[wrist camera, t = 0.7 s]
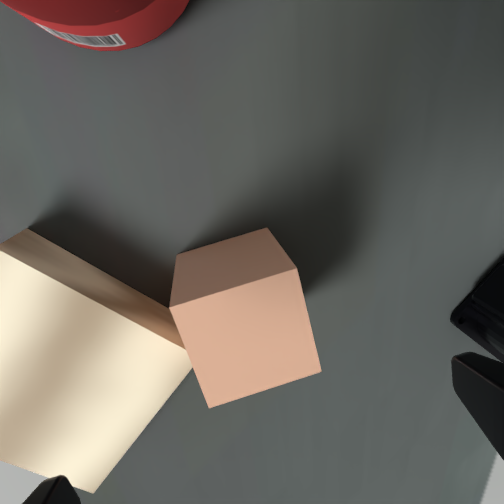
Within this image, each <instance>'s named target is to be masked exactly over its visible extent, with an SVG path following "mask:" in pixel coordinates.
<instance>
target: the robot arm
mask: <svg viewBox="0 0 504 504" xmlns="http://www.w3.org/2000/svg"><path fill="white" fill-rule="evenodd" d="M459 318H460V320H459ZM450 321H451V323H452V324H453V325H455V326H456V327H457V328H459V329H460V330H461V331H462V332H464V333H465V334H466V335H468V336H469V337H470V338H472V339H473V340H474V341H475V342H477V343H478V344H479V345H481V346H482V347H483V348H484V349H486V350H487V351H488V352H490V353H491V354H492V355H494V356H495V357H496V358H497V359H499V360H500V361H501V362H499V361H496V360H493V359H491V358H488V357H485V356H482V355H479V354H476V353H473V352H465V353H462V354H459V355H455V356H454V357H453V358H452V360H451V364H452V380H453V387H454V390H455V392H456V394H457V395H458V397H459V398H460V400H461V401H462V403H463V404H464V405H465V407H466V408H467V410H468V411H469V413H470V414H471V415H472V417H473V418H474V420H475V421H476V422H477V424H478V425H479V427H480V428H481V430H482V431H483V432H484V434H485V435H486V437H487V438H488V440H489V441H490V442H491V444H492V445H493V447H494V448H495V449H496V451H497V452H498V453H499V455H500V456H501V457H502V459H503V460H504V259H503V260H502V261H501V262H500V263H499V264H498V265H497V266H496V267H495V268H494V270H493V271H492V272H491V273H490V274H489V275H488V276H487V277H486V278H485V279H484V280H483V281H482V282H481V284H480V285H479V286H478V287H477V288H476V289H475V290H474V291H473V292H472V293H471V294H470V295H469V296H468V298H467V299H466V300H465V301H464V302H463V303H462V304H461V305H460V306H459V307H458V308H457V309H456V311H455V312H454V313H453V314H452V315H451V318H450ZM502 362H503V363H502ZM22 504H81V502H80V498H79V497H78V495H77V493H76V492H75V490H74V488H73V487H72V485H71V483H70V482H69V480H68V478H67V477H66V476H64V475H58V476H55V477H52V478H49V479H46V480H44V481H43V482H41V483H40V484H39V486H38V487H37V488H36V489H35V490H34V491H33V492H32V493H31V495H30V496H29V497H28V498H27V499H26V500H25V501H24V502H23V503H22Z"/></svg>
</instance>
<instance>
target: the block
mask: <svg viewBox="0 0 504 504" xmlns="http://www.w3.org/2000/svg"><path fill="white" fill-rule="evenodd" d="M169 308H170V311H171V313H172V316H173V318H174V321H175V323H176V326H177V328H178V331H179V333H180V336H181V338H182V341H183V344H184V346H185V349H186V351H187V354H188V356H189V359H190V361H191V364H192V366H193V369H194V371H195V374H196V376H197V379H198V381H199V384H200V386H201V389H202V391H203V394H204V396H205V399H206V402H207V404H208V407H209V408H211V407H214V406H218V405H221V404H224V403H227V402H230V401H233V400H236V399H239V398H242V397H245V396H248V395H251V394H254V393H257V392H260V391H264V390H267V389H270V388H273V387H276V386H279V385H282V384H285V383H288V382H291V381H294V380H297V379H300V378H303V377H306V376H310V375H313V374H316V373H319V372H322V371H321V367H320V363H319V359H318V354H317V350H316V346H315V342H314V338H313V333H312V329H311V325H310V321H309V317H308V312H307V308H306V304H305V300H304V296H303V291H302V287H301V283H300V279H299V274H298V270H297V267H296V266H295V265H294V263H293V262H292V261H291V259H290V258H289V257H288V255H287V254H286V252H285V251H284V250H283V248H282V247H281V246H280V244H279V243H278V241H277V240H276V239H275V237H274V236H273V235H272V233H271V232H270V231H269V229H268V228H263V229H260V230H257V231H253V232H250V233H247V234H244V235H240V236H237V237H234V238H230V239H227V240H224V241H220V242H217V243H214V244H210V245H207V246H204V247H200V248H197V249H194V250H190V251H187V252H184V253H180V254H177V256H176V263H175V270H174V277H173V284H172V291H171V299H170V306H169Z"/></svg>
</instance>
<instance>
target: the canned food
mask: <svg viewBox="0 0 504 504" xmlns="http://www.w3.org/2000/svg"><path fill="white" fill-rule="evenodd" d="M0 1H1V2H2V3H4V4H5V5H7V6H8V7H10V8H12V9H13V10H15V11H16V12H18V13H19V14H21V15H22V16H24V17H26V18H27V19H29V20H30V21H32V22H33V23H35V24H36V25H38V26H39V27H41V28H43V29H44V30H46V31H48V32H49V33H51V34H53V35H54V36H56V37H57V38H59V39H61V40H63V41H66V42H69V43H71V44H74V45H76V46H79V47H83V48H88V49H93V50H99V51H120V50H125V49H129V48H133V47H138V46H140V45H143V44H145V43H147V42H149V41H151V40H153V39H155V38H157V37H158V36H159V35H161V34H162V33H163V32H164V31H166V30H167V29H168V28H170V27H171V26H172V25H173V23H174V22H175V21H176V20H177V19H178V17H179V16H180V15H181V14H182V13H183V11H184V9H185V8H186V6H187V4H188V2H189V0H0Z"/></svg>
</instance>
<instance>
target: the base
mask: <svg viewBox="0 0 504 504" xmlns="http://www.w3.org/2000/svg"><path fill="white" fill-rule="evenodd" d="M192 367H193V366H192V364H191V361H190V359H189V356H188V354H187V351H186V349H185V346H184V344H183V341H182V338H181V336H180V333H179V331H178V328H177V326H176V323H175V321H174V318H173V316H172V313H171V311H170V309H168V308H167V307H165V306H163V305H161V304H160V303H158V302H156V301H154V300H153V299H151V298H149V297H147V296H145V295H144V294H142V293H140V292H138V291H137V290H135V289H133V288H131V287H130V286H128V285H126V284H124V283H123V282H121V281H119V280H117V279H115V278H114V277H112V276H110V275H108V274H107V273H105V272H103V271H101V270H100V269H98V268H96V267H94V266H93V265H91V264H89V263H87V262H86V261H84V260H82V259H80V258H78V257H77V256H75V255H73V254H71V253H70V252H68V251H66V250H64V249H63V248H61V247H59V246H57V245H56V244H54V243H52V242H50V241H49V240H47V239H45V238H43V237H41V236H40V235H38V234H36V233H34V232H33V231H31V230H29V229H27V228H26V229H25V230H23V231H21V232H20V233H18V234H16V235H15V236H13V237H11V238H10V239H8V240H6V241H5V242H3V243H1V244H0V461H3V462H6V463H9V464H12V465H15V466H17V467H20V468H23V469H26V470H29V471H31V472H34V473H37V474H40V475H43V476H46V477H48V478H52V477H55V476H58V475H64V476H66V477H67V478H68V480H69V482H70V483H71V485H72V486H74V487H77V488H79V489H82V490H85V491H88V492H91V493H94V492H95V490H96V489H97V488H98V487H99V485H100V484H101V483H102V482H103V480H104V479H105V478H106V477H107V475H108V474H109V473H110V471H111V470H112V469H113V468H114V466H115V465H116V464H117V463H118V461H119V460H120V459H121V457H122V456H123V455H124V454H125V452H126V451H127V450H128V449H129V447H130V446H131V445H132V444H133V442H134V441H135V440H136V438H137V437H138V436H139V435H140V433H141V432H142V431H143V430H144V428H145V427H146V426H147V424H148V423H149V422H150V421H151V419H152V418H153V417H154V416H155V414H156V413H157V412H158V410H159V409H160V408H161V407H162V405H163V404H164V403H165V402H166V400H167V399H168V398H169V397H170V395H171V394H172V393H173V391H174V390H175V389H176V388H177V386H178V385H179V384H180V383H181V381H182V380H183V379H184V377H185V376H186V375H187V374H188V372H189V371H190V370H191V369H192Z"/></svg>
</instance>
